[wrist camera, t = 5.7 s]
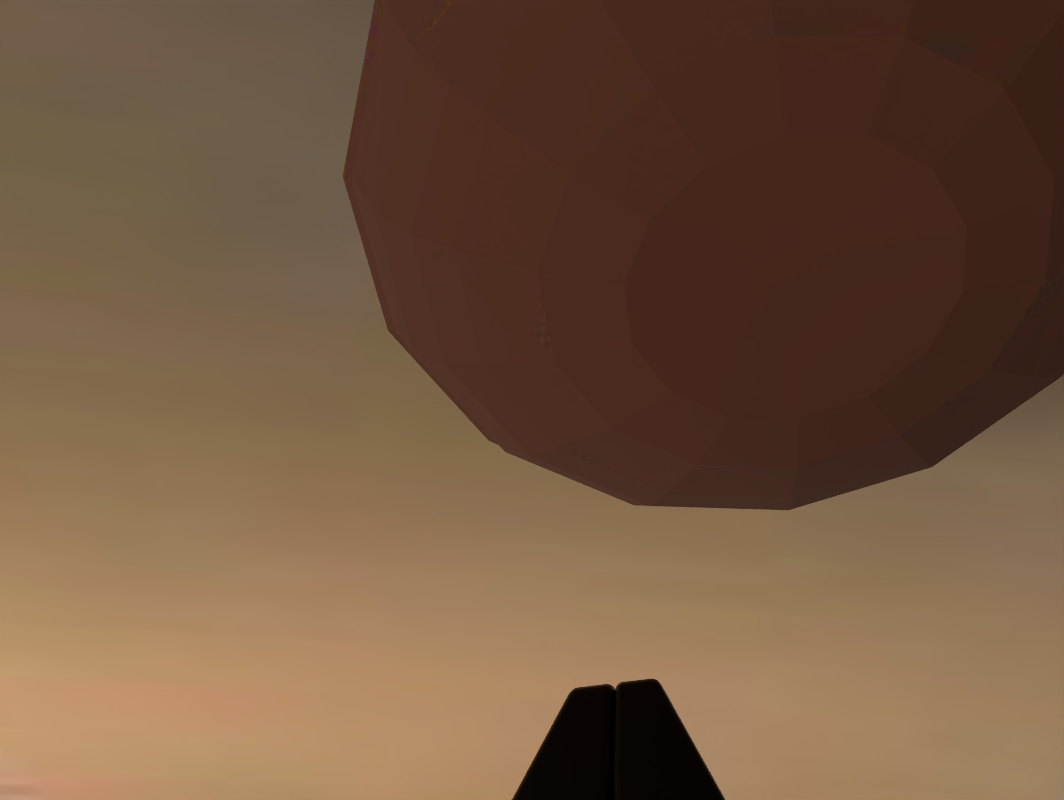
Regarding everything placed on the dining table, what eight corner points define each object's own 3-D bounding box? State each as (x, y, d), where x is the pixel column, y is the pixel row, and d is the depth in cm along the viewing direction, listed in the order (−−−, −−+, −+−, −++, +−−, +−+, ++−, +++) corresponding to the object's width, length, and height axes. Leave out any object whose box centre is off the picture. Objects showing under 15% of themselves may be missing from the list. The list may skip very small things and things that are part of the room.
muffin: (952, -401, 16) (1379, -660, 7) (1068, 213, 21) (1400, 501, 12) (315, -68, 19) (70, 35, 10) (548, 397, 24) (518, 730, 15)
